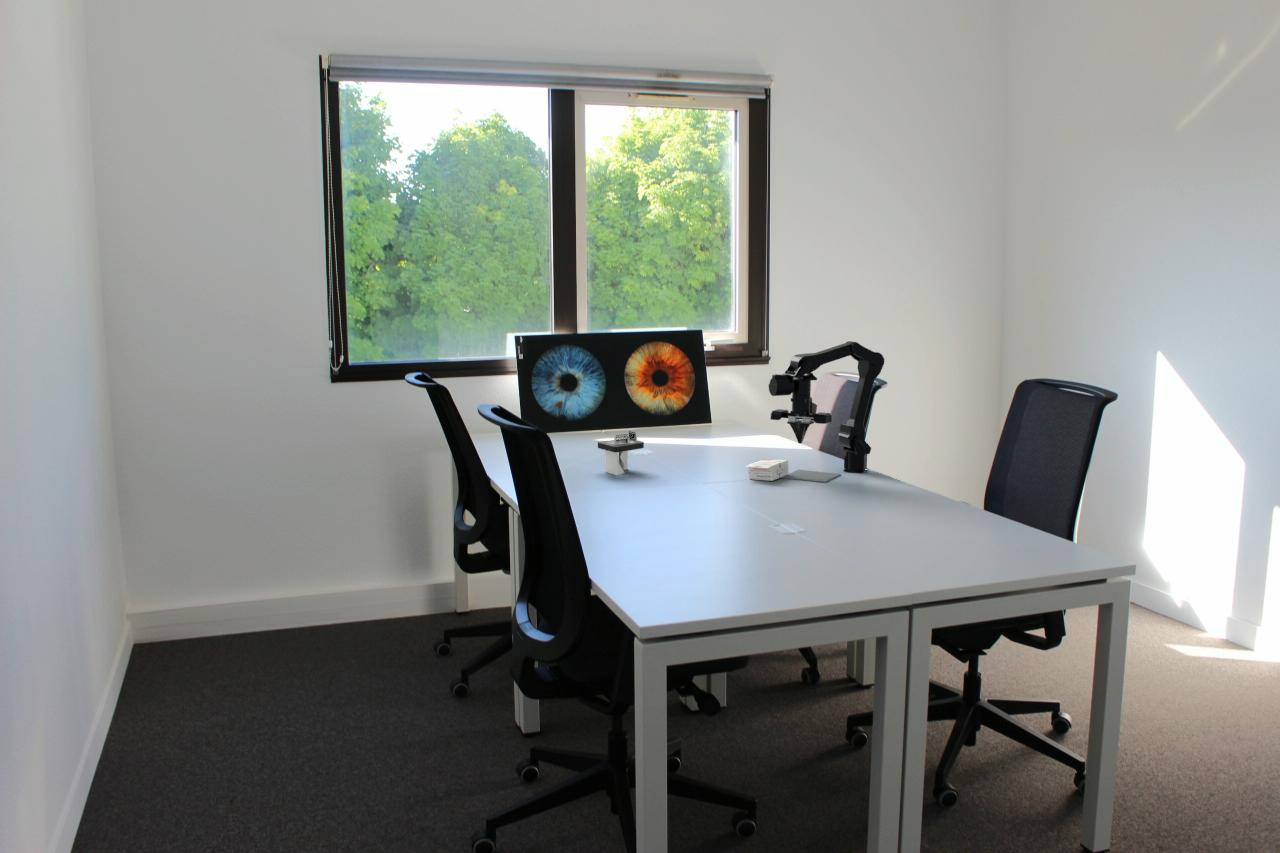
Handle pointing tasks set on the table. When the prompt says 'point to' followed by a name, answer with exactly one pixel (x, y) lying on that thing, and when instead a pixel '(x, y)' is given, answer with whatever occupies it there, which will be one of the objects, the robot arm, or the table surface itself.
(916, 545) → the table surface
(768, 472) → the ink cartridge box
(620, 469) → the black-topped pedestal
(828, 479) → the mat
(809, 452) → the table surface
